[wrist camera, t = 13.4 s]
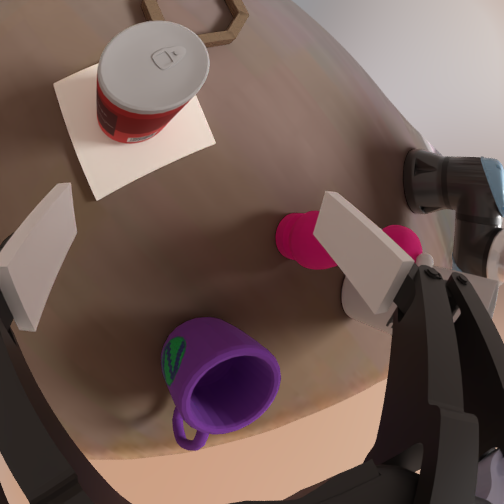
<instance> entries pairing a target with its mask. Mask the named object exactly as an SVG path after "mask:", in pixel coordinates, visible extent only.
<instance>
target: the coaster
mask: <svg viewBox="0 0 504 504" xmlns="http://www.w3.org/2000/svg"><path fill="white" fill-rule="evenodd" d="M98 64H99V63H98ZM98 64H95V65H93V66H91V67H88V68H86V69H83V70H81V71H79V72H77V73H74V74H72V75H70V76H68V77H66V78H64V79H62V80H60V81H58V82H56V83H54V84H53V85H54V88H55V92H56V95H57V99H58V102H59V105H60V108H61V112H62V115H63V118H64V121H65V124H66V127H67V130H68V132H69V135H70V138H71V141H72V143H73V146H74V149H75V151H76V154H77V156H78V159H79V161H80V164H81V166H82V169H83V171H84V174H85V176H86V178H87V181H88V183H89V185H90V187H91V190H92V192H93V194H94V196H95V198H96V201H98V200H100V199H102V198H103V197H105V196H107V195H109V194H110V193H112V192H114V191H116V190H118V189H120V188H121V187H123V186H125V185H127V184H129V183H131V182H133V181H135V180H137V179H139V178H141V177H143V176H145V175H147V174H149V173H151V172H153V171H155V170H157V169H159V168H161V167H163V166H165V165H167V164H170V163H172V162H174V161H176V160H178V159H181V158H183V157H185V156H187V155H190V154H192V153H194V152H197V151H199V150H201V149H204V148H206V147H209V146H211V145H214V144H216V142H215V140H214V137H213V135H212V133H211V130H210V128H209V125H208V123H207V121H206V118H205V116H204V113H203V111H202V109H201V106H200V104H199V101H198V99H197V97H196V95H195V96H194V97H193V98H192V99H191V100H190V101H189V102H188V103H187V104H186V105H185V106H184V107H183V108H182V109H181V110H180V111H179V112H178V113H177V114H176V115H175V116H174V117H173V119H172V120H171V121H170V122H169V123H168V124H167V125H166V126H165V127H164V128H163V129H162V130H161V131H160V132H159V133H158V134H157V135H155V136H154V137H152V138H150V139H148V140H146V141H143V142H139V143H132V144H126V143H120V142H117V141H115V140H112V139H111V138H109V137H108V136H107V135H106V134H105V133H104V132H103V131H102V129H101V128H100V126H99V124H98V120H97V107H96V88H97V68H98Z"/></svg>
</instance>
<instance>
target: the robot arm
mask: <svg viewBox="0 0 504 504" xmlns="http://www.w3.org/2000/svg"><path fill="white" fill-rule="evenodd" d="M404 190H405V195H406V199H407V202H408V205H409V207H410V209H411V210H412V211H413V212H414V213H417V214H428V213H432V212H435V211H439V210H443V209H452V210H456V219H455V236H454V248H453V254H452V260H453V263H452V270H455V271H459V272H463V273H468V274H472V275H476V276H480V277H484V278H488V279H492V280H496V281H498V282H499V286H500V285H501V284H503V283H504V229H502V217H504V169H503V166H502V164H501V163H500V162H499V161H498V160H497V159H491V158H484V157H481V158H479V157H444V156H441V155H438V154H435V153H432V152H429V151H426V150H423V149H413V150H411V151H410V152H409V153H408V155H407V157H406V160H405V165H404ZM76 234H77V228H76V222H75V215H74V207H73V199H72V189H71V183H58V184H57V185H56V186H55V187H54V188H53V189H52V190H51V191H50V192H49V193H48V194H47V195H46V196H45V197H44V198H43V199H42V201H41V202H40V203H39V204H38V205H37V206H36V207H35V208H34V210H33V211H32V212H31V213H30V214H29V215H28V217H27V218H26V219H25V220H24V221H23V223H22V224H21V225H20V226H19V228H18V229H17V230H16V231H15V232H13V233H12V234H11V235H10V236H8V237H7V238H6V239H5V240H4V241H3V242H2V244H1V245H0V452H1V454H2V456H3V458H4V460H5V462H6V463H7V465H8V467H9V469H10V471H11V473H12V474H13V476H14V478H15V479H16V481H17V483H18V484H19V486H20V488H21V489H22V491H23V492H24V494H25V495H26V497H27V499H28V501H29V503H30V504H131V503H130V502H129V501H127V500H126V499H125V498H123V497H122V496H121V495H119V494H118V493H117V492H116V491H115V490H114V489H113V488H112V487H111V486H110V485H109V484H108V483H107V482H106V480H105V479H103V477H102V476H101V475H100V474H99V473H98V472H97V470H96V469H95V468H94V467H93V466H92V465H91V463H90V462H89V461H88V460H87V458H86V457H85V456H84V455H83V453H82V452H81V451H80V450H79V448H78V447H77V446H76V444H75V443H74V442H73V440H72V439H71V438H70V436H69V435H68V433H67V432H66V430H65V429H64V428H63V426H62V425H61V423H60V422H59V420H58V418H57V417H56V415H55V414H54V412H53V411H52V409H51V407H50V406H49V404H48V402H47V401H46V399H45V397H44V395H43V394H42V392H41V390H40V388H39V387H38V385H37V383H36V381H35V379H34V377H33V375H32V373H31V371H30V369H29V367H28V365H27V363H26V361H25V359H24V356H23V354H22V352H21V350H20V347H19V345H18V343H17V340H16V338H15V335H14V333H13V331H12V329H11V327H10V325H11V323H12V320H13V319H14V321H15V323H16V324H17V326H18V328H19V330H24V331H34V332H36V329H37V326H38V323H39V320H40V317H41V314H42V312H43V309H44V306H45V303H46V301H47V298H48V296H49V293H50V291H51V288H52V286H53V283H54V281H55V279H56V276H57V274H58V272H59V269H60V267H61V265H62V263H63V261H64V259H65V256H66V254H67V252H68V250H69V248H70V246H71V244H72V242H73V240H74V238H75V236H76ZM313 235H314V236H315V237H316V239H317V240H318V241H319V242H320V243H321V245H322V246H323V247H324V248H325V250H326V251H327V252H328V254H329V255H330V256H331V257H332V259H333V260H334V261H335V262H336V264H337V265H338V266H339V268H340V269H341V270H342V271H343V273H344V274H345V275H346V277H347V278H348V279H349V281H350V282H351V283H352V285H353V286H354V287H355V288H356V290H357V291H358V292H359V294H360V295H361V297H362V298H363V299H364V301H365V302H366V303H367V305H368V306H369V307H370V309H371V310H372V312H373V313H374V314H380V313H385V312H387V311H388V309H389V308H390V306H391V304H392V303H393V302H394V303H395V304H396V305H397V307H396V309H395V311H394V312H393V314H392V316H391V317H390V319H389V320H388V322H387V324H386V326H387V327H388V326H389V324H390V323H393V325H392V326H391V328H393V329H392V342H391V353H390V363H389V371H388V379H387V386H386V392H385V398H384V404H383V410H382V415H381V420H380V425H379V430H378V434H377V439H376V442H375V444H374V446H373V448H372V449H371V451H370V452H369V453H368V455H367V457H366V458H365V460H364V462H363V464H361V465H358V466H357V467H354V468H352V469H349V470H347V471H345V472H342V473H340V474H337V475H335V476H333V477H331V478H329V479H327V480H324V481H322V482H320V483H317V484H315V485H313V486H310V487H308V488H305V489H303V490H300V491H299V492H297V493H295V494H294V495H292V496H290V497H288V498H286V499H284V500H281V501H242V502H236V503H230V504H504V344H503V341H502V339H501V337H500V335H499V333H498V331H497V329H496V327H495V325H494V323H493V321H492V319H491V317H490V315H489V313H488V312H487V310H486V308H485V306H484V304H483V303H482V301H481V299H480V297H479V296H478V294H477V292H476V291H475V289H474V287H473V286H472V284H471V283H470V281H469V280H468V279H467V277H466V276H464V275H463V274H461V273H458V272H452V273H451V275H450V277H449V279H448V280H443V278H442V276H441V274H440V273H439V272H438V271H436V270H435V269H434V268H432V267H430V266H427V265H420V266H419V267H418V266H417V265H416V264H415V263H414V262H415V261H414V260H413V259H412V258H411V257H410V256H409V255H408V254H407V253H406V252H405V251H404V250H403V249H402V248H401V247H400V246H399V245H398V244H396V243H395V242H394V241H393V240H392V239H391V238H390V237H389V236H388V235H387V234H386V233H384V232H383V231H382V230H381V229H380V228H379V227H378V226H377V225H375V224H374V223H373V222H372V221H371V220H370V219H369V218H367V217H366V216H365V215H364V214H363V213H362V212H360V211H359V210H358V209H357V208H356V207H354V206H353V205H352V204H351V203H350V202H348V201H347V200H346V199H345V198H344V197H342V196H341V195H340V194H339V193H337V192H332V191H325V194H324V198H323V201H322V205H321V208H320V212H319V215H318V219H317V222H316V225H315V229H314V232H313ZM458 309H460V312H461V314H460V315H459V317H458V318H457V320H456V321H455V322H453V316H454V315H455V313H456V312H457V310H458ZM495 447H497V449H495ZM420 469H421V470H420ZM417 470H420V475H419V474H417V473H415V471H417ZM0 504H9V503H8V501H7V498H6V496H5V494H4V491H3V488H2V486H1V483H0Z"/></svg>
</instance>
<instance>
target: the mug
mask: <svg viewBox="0 0 504 504" xmlns="http://www.w3.org/2000/svg"><path fill="white" fill-rule="evenodd" d="M161 368H162V373H163V376H164V379H165V382H166V384H167V387H168V389H169V392H170V394H171V396H172V399H173V401H174V403H175V405H176V407H175V410H174V414H173V419H172V421H173V431H174V435H175V439H176V441H177V443H178V444H179V445H180V446H181V447H182V448H184V449H186V450H195V451H196V450H199V449H200V448H201V447H203V446H204V445H205V443H206V441H207V439H208V435H209V434H225V433H229V432H233V431H236V430H239V429H241V428H243V427H245V426H247V425H249V424H250V423H252V422H253V421H255V420H256V419H258V418H259V417H260V416H261V415H262V414H263V413H264V412H265V411H266V410H267V409H268V407H269V406H270V405H271V403H272V402H273V400H274V398H275V396H276V394H277V392H278V390H279V385H280V381H281V375H280V367H279V365H278V362H277V360H276V358H275V357H274V356H273V355H272V354H271V353H270V352H269V351H268V350H267V349H266V348H265V347H263V346H262V345H261V344H260V343H258V342H257V341H256V340H254V339H253V338H252V337H250V336H249V335H247V334H246V333H244V332H243V331H241V330H240V329H238V328H237V327H235V326H233V325H231V324H229V323H227V322H225V321H223V320H221V319H218V318H212V317H202V318H195V319H192V320H189V321H186V322H184V323H183V324H181V325H179V326H178V327H176V328H175V329H174V330H173V331H172V333H171V334H170V335H169V336H168V338H167V340H166V341H165V343H164V346H163V349H162V353H161ZM183 420H184V421H185V422H186V423H187V424H188V425H189V426H191V427H192V428H194V429H196V430H197V432H196V436H195V438H194V440H188V439H186V436H185V432H184V428H183Z"/></svg>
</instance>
